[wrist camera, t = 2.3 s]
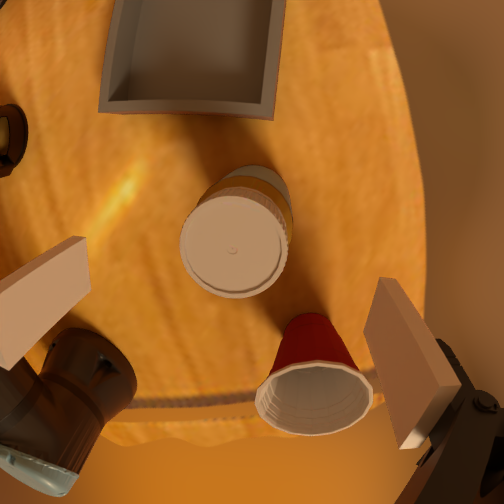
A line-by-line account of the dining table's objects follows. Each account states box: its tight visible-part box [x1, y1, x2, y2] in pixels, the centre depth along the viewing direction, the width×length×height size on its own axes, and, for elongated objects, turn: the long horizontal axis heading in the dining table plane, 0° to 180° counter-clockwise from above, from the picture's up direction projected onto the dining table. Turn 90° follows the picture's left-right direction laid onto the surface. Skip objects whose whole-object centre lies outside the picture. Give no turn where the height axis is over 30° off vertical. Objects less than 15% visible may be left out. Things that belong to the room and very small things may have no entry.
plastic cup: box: [255, 313, 373, 436], centre depth 31 cm, size 11×11×12 cm
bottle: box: [180, 165, 293, 298], centre depth 25 cm, size 7×7×15 cm
